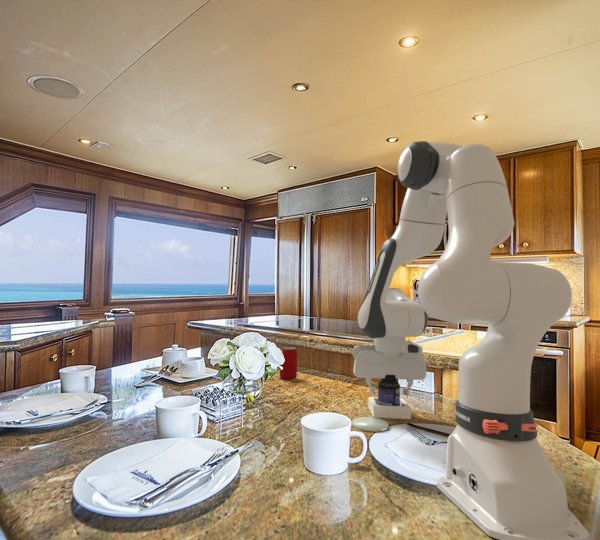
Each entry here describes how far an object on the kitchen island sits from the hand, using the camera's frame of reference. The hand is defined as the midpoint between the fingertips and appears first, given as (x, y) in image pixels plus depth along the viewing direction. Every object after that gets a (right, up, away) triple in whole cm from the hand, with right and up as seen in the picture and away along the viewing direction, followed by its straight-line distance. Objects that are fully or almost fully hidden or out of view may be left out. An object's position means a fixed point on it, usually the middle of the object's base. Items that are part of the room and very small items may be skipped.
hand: (388, 394), depth 111 cm
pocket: (0, -5, 0) cm, 5 cm away
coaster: (-7, -4, -12) cm, 15 cm away
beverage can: (-30, -8, +42) cm, 52 cm away
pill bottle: (0, -5, 0) cm, 5 cm away
